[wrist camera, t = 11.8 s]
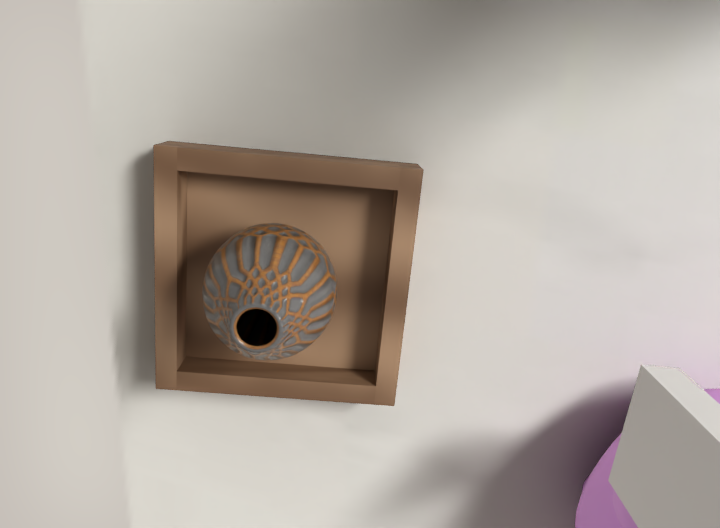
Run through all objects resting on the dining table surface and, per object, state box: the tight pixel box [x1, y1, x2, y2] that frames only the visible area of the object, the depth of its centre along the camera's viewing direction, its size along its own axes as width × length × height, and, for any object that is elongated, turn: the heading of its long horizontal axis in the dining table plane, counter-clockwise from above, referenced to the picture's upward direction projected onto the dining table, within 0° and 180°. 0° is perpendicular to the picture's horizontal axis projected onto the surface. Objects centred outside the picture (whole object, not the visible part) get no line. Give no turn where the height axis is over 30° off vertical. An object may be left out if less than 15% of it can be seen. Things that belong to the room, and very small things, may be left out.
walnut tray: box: [154, 141, 423, 406], centre depth 33 cm, size 14×14×3 cm
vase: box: [202, 223, 337, 360], centre depth 29 cm, size 7×7×9 cm
